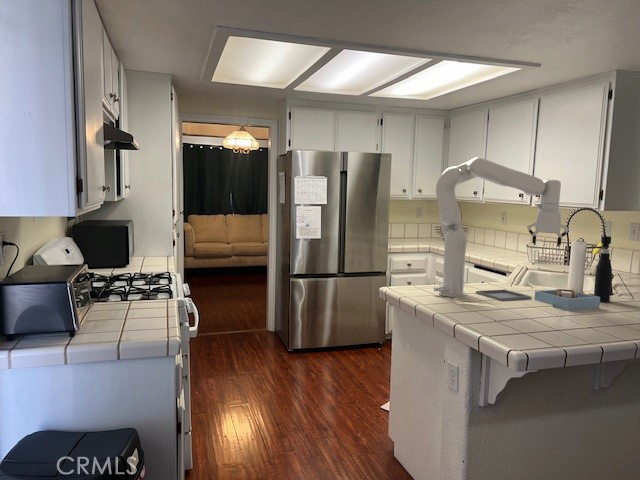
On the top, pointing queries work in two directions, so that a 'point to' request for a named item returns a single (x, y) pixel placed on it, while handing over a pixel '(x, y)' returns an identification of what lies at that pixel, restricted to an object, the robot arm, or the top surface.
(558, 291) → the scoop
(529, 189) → the robot arm
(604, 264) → the dark water bottle
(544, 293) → the bin
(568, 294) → the stone
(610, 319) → the top surface
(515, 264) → the top surface
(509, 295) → the tray
